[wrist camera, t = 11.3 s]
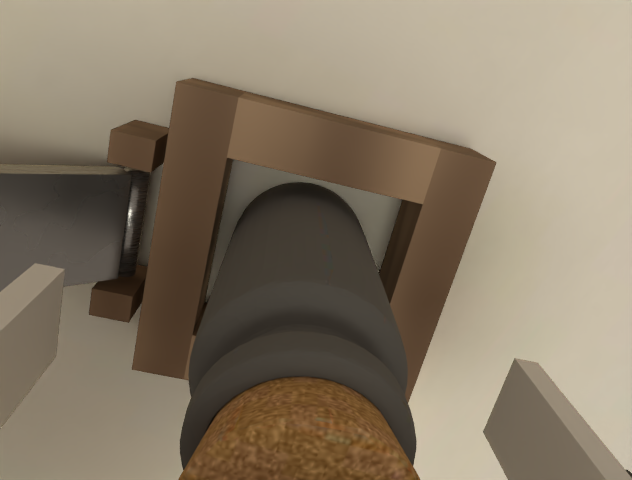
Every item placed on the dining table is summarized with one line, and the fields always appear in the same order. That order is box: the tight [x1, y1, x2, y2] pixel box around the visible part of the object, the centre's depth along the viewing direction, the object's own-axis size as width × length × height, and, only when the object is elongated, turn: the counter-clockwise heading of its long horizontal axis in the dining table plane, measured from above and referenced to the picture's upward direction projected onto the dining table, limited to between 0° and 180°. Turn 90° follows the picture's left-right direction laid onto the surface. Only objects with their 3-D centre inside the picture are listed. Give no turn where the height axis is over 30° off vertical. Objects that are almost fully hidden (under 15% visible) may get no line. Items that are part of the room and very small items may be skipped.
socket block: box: [89, 78, 496, 402], centre depth 22 cm, size 14×12×3 cm
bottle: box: [179, 183, 420, 480], centre depth 16 cm, size 6×6×15 cm
